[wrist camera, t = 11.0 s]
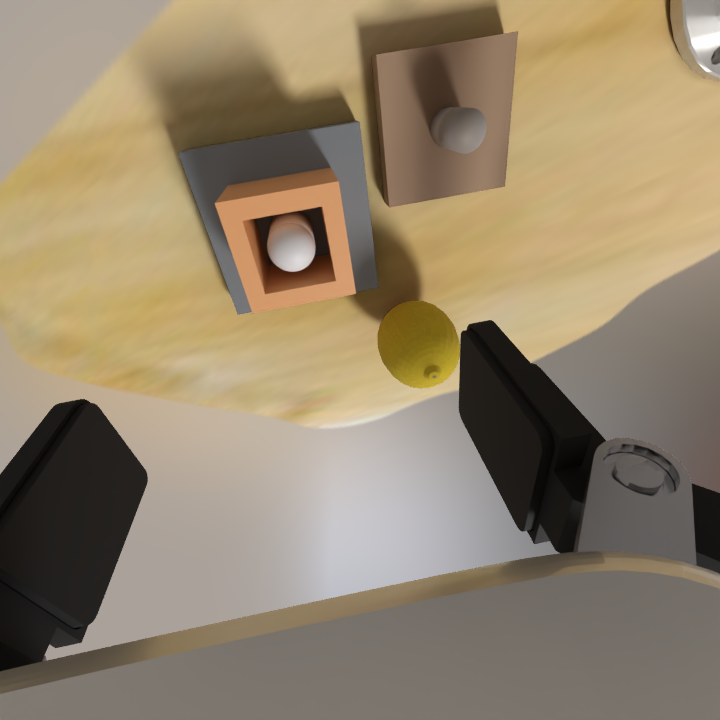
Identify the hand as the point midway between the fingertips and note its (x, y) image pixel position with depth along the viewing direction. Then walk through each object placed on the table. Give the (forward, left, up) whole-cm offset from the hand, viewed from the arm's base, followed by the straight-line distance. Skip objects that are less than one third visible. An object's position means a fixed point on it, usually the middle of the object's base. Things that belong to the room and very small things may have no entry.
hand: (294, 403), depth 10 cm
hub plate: (0, 0, -18) cm, 18 cm away
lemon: (-7, +9, -18) cm, 21 cm away
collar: (0, 0, -17) cm, 17 cm away
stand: (-10, -4, -18) cm, 21 cm away
